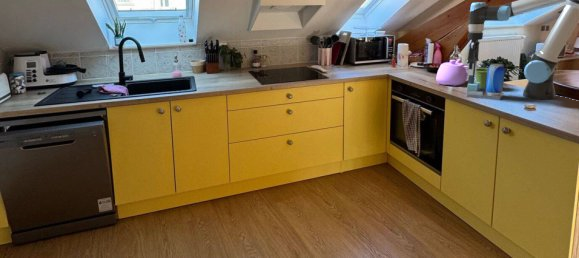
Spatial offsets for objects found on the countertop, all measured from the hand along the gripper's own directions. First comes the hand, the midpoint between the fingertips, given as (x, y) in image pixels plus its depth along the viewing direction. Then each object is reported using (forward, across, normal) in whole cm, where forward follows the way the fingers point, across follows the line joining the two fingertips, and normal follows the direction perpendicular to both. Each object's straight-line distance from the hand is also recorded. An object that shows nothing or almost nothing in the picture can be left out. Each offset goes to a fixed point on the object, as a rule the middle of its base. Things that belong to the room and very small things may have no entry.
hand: (471, 73), depth 238 cm
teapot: (+12, -26, -17) cm, 34 cm away
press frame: (+12, 0, +8) cm, 14 cm away
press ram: (+10, 0, +2) cm, 10 cm away
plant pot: (+12, -20, +3) cm, 24 cm away
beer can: (+11, 0, +12) cm, 16 cm away
